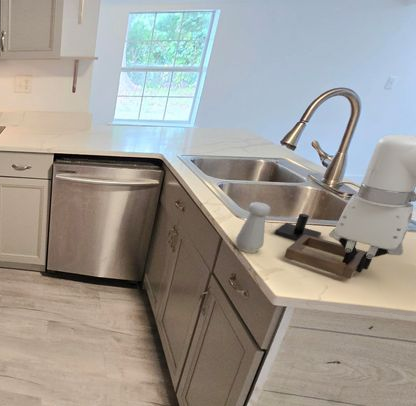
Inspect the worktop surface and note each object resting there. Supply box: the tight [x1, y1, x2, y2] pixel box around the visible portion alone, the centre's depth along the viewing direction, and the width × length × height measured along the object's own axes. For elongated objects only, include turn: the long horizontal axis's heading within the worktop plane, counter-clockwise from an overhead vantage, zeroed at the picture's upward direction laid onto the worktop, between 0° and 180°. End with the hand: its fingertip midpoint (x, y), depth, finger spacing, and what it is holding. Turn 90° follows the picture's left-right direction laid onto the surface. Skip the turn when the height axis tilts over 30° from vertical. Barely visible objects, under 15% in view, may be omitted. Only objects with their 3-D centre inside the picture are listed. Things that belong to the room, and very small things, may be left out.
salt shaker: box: [235, 201, 271, 254], centre depth 93 cm, size 6×6×13 cm
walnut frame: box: [283, 234, 367, 280], centre depth 88 cm, size 12×12×2 cm
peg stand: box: [274, 213, 322, 242], centre depth 101 cm, size 8×8×6 cm
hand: (353, 268), depth 84 cm, fingers closed on walnut frame, 1 cm apart
